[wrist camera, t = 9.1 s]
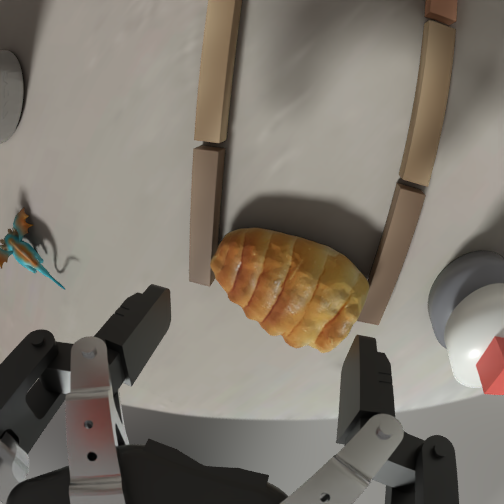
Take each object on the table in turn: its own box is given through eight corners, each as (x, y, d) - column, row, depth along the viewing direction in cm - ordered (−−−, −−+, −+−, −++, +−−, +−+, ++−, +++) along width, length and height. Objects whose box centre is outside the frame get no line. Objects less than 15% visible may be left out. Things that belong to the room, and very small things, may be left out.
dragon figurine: (73, 258, 32) (23, 211, 28) (85, 260, 26) (23, 202, 22) (40, 305, 29) (-12, 259, 25) (46, 318, 24) (-20, 261, 20)
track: (195, 272, 23) (189, 281, 22) (237, -114, 9) (232, -122, 8) (377, 314, 21) (378, 325, 20) (447, -85, 7) (452, -92, 6)
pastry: (208, 278, 23) (185, 311, 19) (241, 195, 19) (218, 221, 16) (327, 335, 22) (321, 375, 19) (380, 266, 19) (384, 304, 15)
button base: (412, 327, 20) (416, 345, 19) (450, 239, 17) (460, 254, 15) (486, 340, 19) (493, 357, 18) (527, 262, 16) (539, 277, 14)
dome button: (428, 353, 17) (439, 413, 13) (470, 274, 15) (499, 330, 10) (495, 362, 16) (513, 415, 12) (538, 292, 14) (570, 342, 9)
